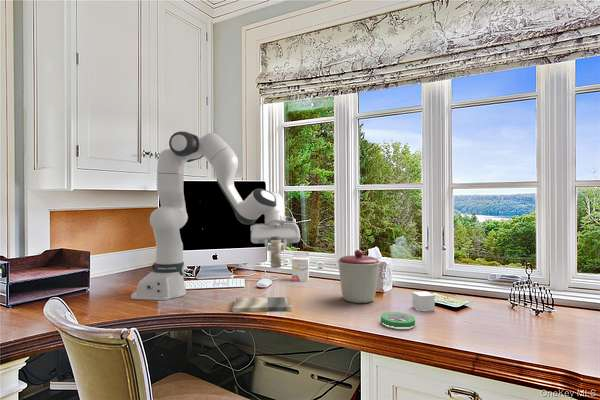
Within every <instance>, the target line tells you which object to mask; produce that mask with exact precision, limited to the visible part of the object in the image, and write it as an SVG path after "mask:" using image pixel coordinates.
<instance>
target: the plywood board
mask: <svg viewBox="0 0 600 400" xmlns="http://www.w3.org/2000/svg"><path fill="white" fill-rule="evenodd" d="M291 302H292V301H291V299H290V297H289V296H283V297H282V296H277V297H275V296H274V297H273V296H272V297H269V296H268V297H235V299H234V303H233V306H232V313H247V312H248V313H249V312H251V313H253V312H292V308H293V307H292V304H291Z"/></svg>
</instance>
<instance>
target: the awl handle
mask: <svg viewBox="0 0 600 400" xmlns="http://www.w3.org/2000/svg"><path fill="white" fill-rule="evenodd" d="M270 245H271V251H270V268H273V269H277V268H278V269H279V268H281V267H282V251H281V245H282V243H281V237H277V236H276V237H271V243H270Z"/></svg>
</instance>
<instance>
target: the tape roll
mask: <svg viewBox="0 0 600 400" xmlns="http://www.w3.org/2000/svg"><path fill="white" fill-rule="evenodd" d="M391 319H403V320H406V321H399V320H391ZM381 322H382V323H384V324H386V325H389V326H394V327H411V326H414V325H415V326H416V318H415V317H414V316H413V315H411V314H409V313H405V312H400V311H399V312H398V311H397V312H396V311H389V312H384V313H382V314H381V315H380V323H381Z"/></svg>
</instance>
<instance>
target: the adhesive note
mask: <svg viewBox="0 0 600 400" xmlns="http://www.w3.org/2000/svg"><path fill="white" fill-rule="evenodd" d="M411 293H412V296H411V298H412V299H411V300H412V302H411V305H412V306H413V307H415V308H417V309H418V310H420V311H422V310H435V311H436V307H435V305H436V304H435V302H436V298H435V297H436V295H435V294H433V293H431V292H428V291H412V292H411ZM412 306H411V307H412ZM413 307H412V308H413ZM415 308H414V309H415ZM418 310H417V311H418ZM420 311H419V312H420Z"/></svg>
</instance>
